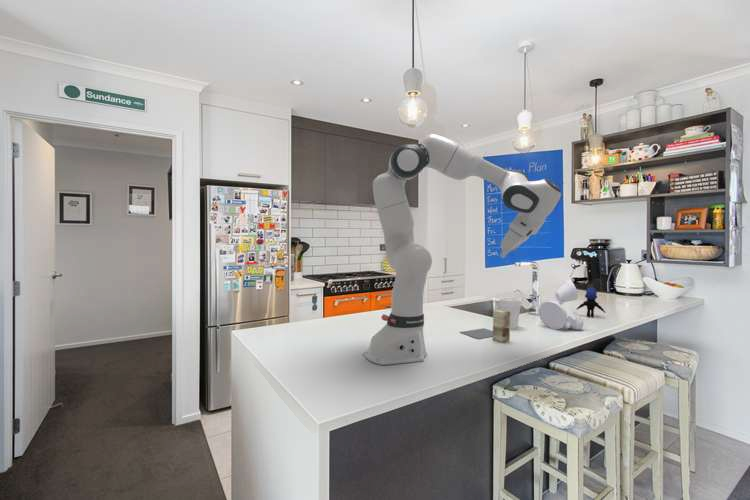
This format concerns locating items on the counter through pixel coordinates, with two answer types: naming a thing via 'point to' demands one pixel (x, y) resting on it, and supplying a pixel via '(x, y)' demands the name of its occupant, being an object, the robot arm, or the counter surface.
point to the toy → (591, 302)
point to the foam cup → (511, 309)
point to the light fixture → (561, 309)
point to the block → (501, 326)
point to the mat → (479, 333)
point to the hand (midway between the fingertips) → (507, 253)
